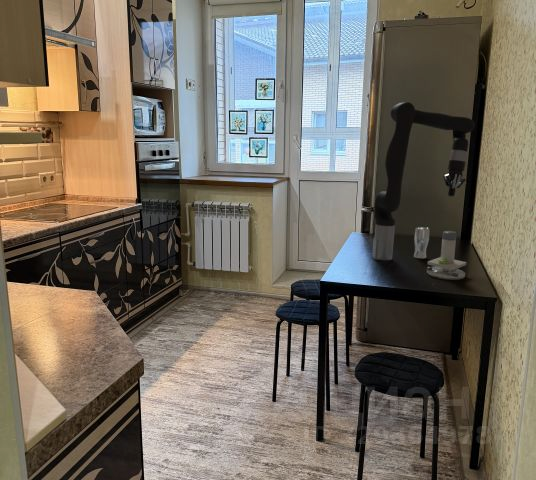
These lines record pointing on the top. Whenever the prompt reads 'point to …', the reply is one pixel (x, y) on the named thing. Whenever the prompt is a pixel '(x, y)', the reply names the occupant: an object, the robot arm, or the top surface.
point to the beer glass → (421, 242)
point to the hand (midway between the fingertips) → (451, 196)
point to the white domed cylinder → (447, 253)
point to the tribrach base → (446, 273)
